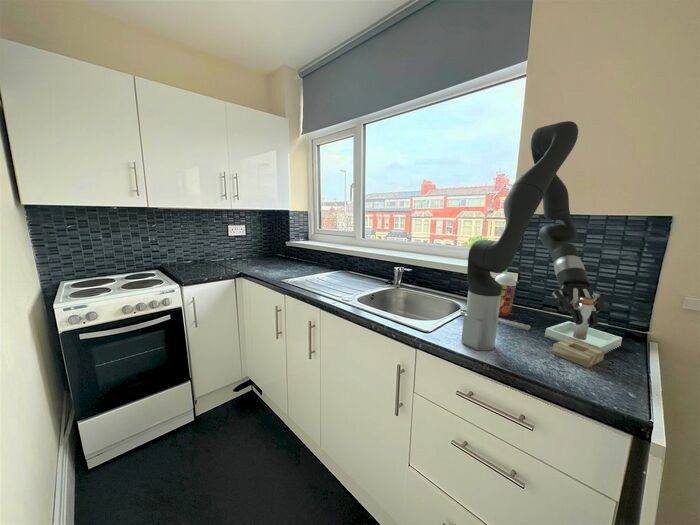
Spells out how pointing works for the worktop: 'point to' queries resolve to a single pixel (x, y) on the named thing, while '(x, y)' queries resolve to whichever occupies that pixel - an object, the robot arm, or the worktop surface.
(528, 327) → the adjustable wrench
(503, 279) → the smoothie
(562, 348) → the block
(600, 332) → the tray
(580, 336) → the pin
